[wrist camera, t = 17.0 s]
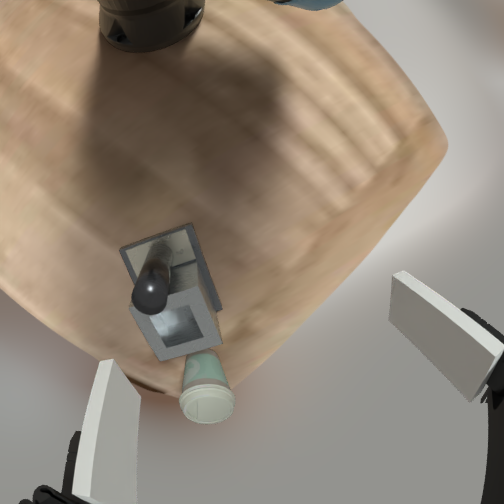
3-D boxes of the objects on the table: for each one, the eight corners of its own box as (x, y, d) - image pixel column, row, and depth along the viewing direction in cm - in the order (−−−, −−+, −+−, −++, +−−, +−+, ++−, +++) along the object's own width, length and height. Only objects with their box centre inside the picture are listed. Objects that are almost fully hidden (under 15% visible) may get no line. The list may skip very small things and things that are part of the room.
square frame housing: (121, 247, 35) (103, 273, 27) (191, 222, 37) (191, 242, 28) (158, 325, 41) (153, 363, 32) (221, 305, 42) (230, 341, 34)
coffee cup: (195, 333, 43) (199, 386, 32) (235, 353, 46) (249, 404, 35) (169, 364, 44) (169, 416, 33) (208, 381, 47) (216, 430, 36)
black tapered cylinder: (153, 271, 36) (141, 319, 25) (143, 248, 35) (125, 289, 24) (177, 263, 37) (172, 309, 26) (167, 240, 35) (158, 278, 24)
